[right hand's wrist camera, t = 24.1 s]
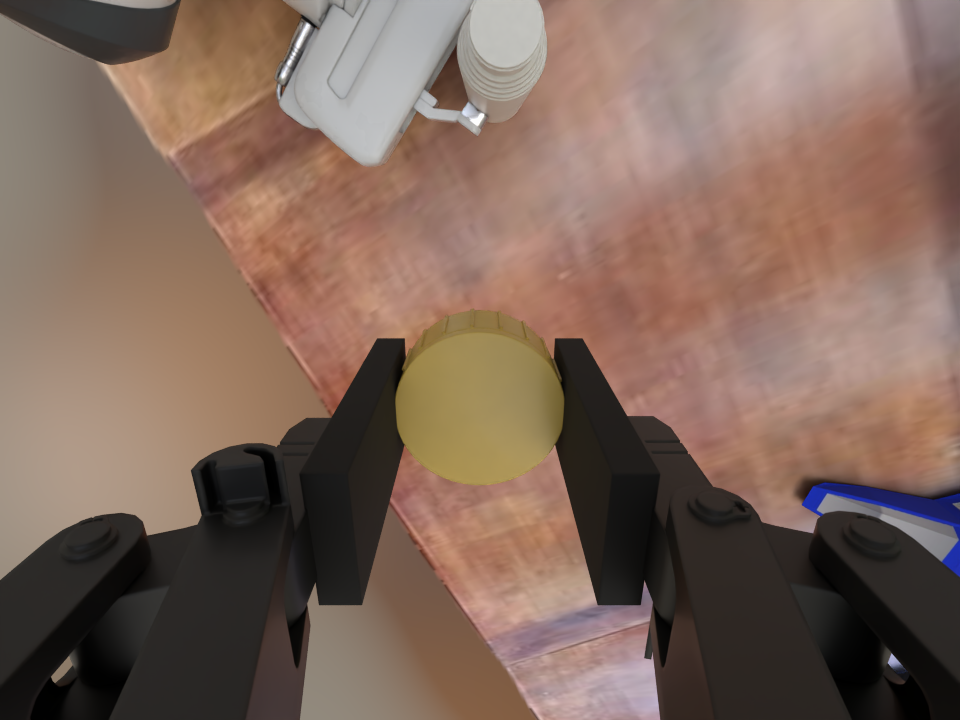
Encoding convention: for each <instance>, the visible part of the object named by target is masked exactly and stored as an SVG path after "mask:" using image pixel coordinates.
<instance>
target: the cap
mask: <svg viewBox="0 0 960 720" xmlns="http://www.w3.org/2000/svg"><path fill="white" fill-rule="evenodd" d="M402 370H403V373H402V376H401V379H400V381H399V384H398V387H397V391H396V395H395V403H396V418H397V429H398V432H399V435H400V437H401V439H402V441H403V443H404V445H405V446H406V448H407V449H408V451H409V452H410V453H411V454H412V456H413V457H414V458H415V459H416V460H417V461H418V462H419V463H420V464H422V465H423V466H424V467H425V468H427V469H428V470H430V471H431V472H433V473H435V474H437V475H438V476H440V477H443V478H445V479H448V480H451V481H454V482H458V483H463V484H469V485H491V484H496V483H502V482H505V481H509V480H512V479H514V478H517V477H519V476H521V475H523V474H525V473H526V472H528V471H530V470H531V469H533V468H534V467H535V466H537V465H538V464H539V463H540V462H541V461H542V460H543V459H544V458H545V457H546V456H547V455H548V454H549V453H550V451H551V450H552V449H553V447H554V445H555V444H556V442H557V440H558V438H559V436H560V433H561V431H562V427H563V413H564V392H563V389H562V386H561V383H560V382H562V378H561V376H560V373H559V370H558V368H557V365H556V362H555V360H554V359H552V358H551V355H550V353H549V351H548V349H547V347H546V344H545V341H544V339H543V338H540V337H539V336H538V335H537V334H536V333H535V332H534V331H533V330H532V329H531V328H529V327H528V326H527V325H526V323H525V322H524V321H522V322H521V321H519V320H517V319H515V318H513V317H511V316H508V315H505V314H502V313H501V311H498V312H493V311H483V310H476V311H474V309H471V311H466V312H461V313H457V314H454V315H451V316H448V315H446V316H445V318H444V319H442V320H440V321H439V322H437V323H436V324H434V325H433V326H431V327H430V328H429V329H428V330H427V329H425V330H424V331H423V334H422V336H421V337H420V338H419V339H418V340H417V342H416V343H415V345H414V347H413V348H412V349H411V348H410V349H409V351H408V354H407V357H406V359H405V362H404V365H403V367H402Z"/></svg>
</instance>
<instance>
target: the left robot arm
mask: <svg viewBox="0 0 960 720" xmlns="http://www.w3.org/2000/svg"><path fill="white" fill-rule="evenodd" d="M180 1H181V0H0V14H1V15H3V16H4V17H5V18H7V19H9V20H10V21H12V22H13V23H15V24H16V25H18V26H20V27H21V28H23V29H25V30H26V31H28V32H30V33H32V34H33V35H35V36H37V37H39V38H41V39H43V40H44V41H46V42H48V43H51V44H53V45H55V46H57V47H59V48H61V49H63V50H66V51H68V52H71V53H73V54H76V55H79V56H82V57H85V58H89V59H92V60H96V61H99V62H102V63H105V64H109V65H115V64H122V63H128V62H133V61H136V60H140V59H143V58H146V57H149V56H152V55H154V54H157V53H159V52H162V51H164V50H166V49H167V48H168V46H169V42H170V39H171V35H172V31H173V27H174V23H175V20H176V16H177V12H178V9H179V5H180ZM282 1H284V2H285V3H286V4H288V5H289V6H290V7H292V8H293V9H294V10H296V11H297V12H298V13H300V14H301V16H302V17H301V19H300V21H299V23H298V25H297V28H296V30H295V32H294V34H293V36H292V38H291V41H290V44H289V48H288V49H287V52H286V54H285V55H286V56H284V58H283V60H282V61H281V62H280V63H279V65H278V67H277V69H276V72H275V75H274V80H275V81H276V82H277V85H276V97H277V101H278V103H279V106H280V107H281V109H282V110H283V112H284V113H285V114H286V115H288V116H289V117H290V118H292V119H293V120H295V121H296V122H297V123H299V124H300V125H302V126H303V127H305V128H307V129H310V130H320V131H321V132H323V133H324V134H325V135H326V136H327V137H328V138H329V139H330V140H331V141H332V142H333V143H334V144H336V145H337V146H338V147H339V148H340V149H341V150H343V151H344V152H345V153H346V154H348V155H349V156H350V157H351V158H353V159H354V160H355V161H357V162H358V163H359V164H361V165H363V166H366V167H376V166H381V165H384V164H386V163H387V161H388V160H389V158H390V156H391V155H392V153H393V151H394V150H395V148H396V146H397V144H398V143H399V141H400V139H401V138H402V136H403V134H404V133H405V131H406V129H407V128H408V126H409V124H410V123H411V121H412V119H413V117H414V116H415V114H416V112H417V111H418V112H420V113H421V114H422V115H424V116H425V117H426V118H428V119H429V120H430V121H440V122H450V123H457V122H459V123H460V124H461V125H463V126H464V127H465V128H467V129H468V130H469V131H470V132H472V133H473V134H474V135H476V136H477V137H478V135H479V134H480V132H481V131H482V129H483V127H484V126H485V124H486V122H487V121H488V119H489V117H488V116H487V115H485V114H484V113H483V112H481V111H477V109H476V107H475V106H474V105H473V104H471V103H470V102H469V101H468V103H467V104H466V106H465V107H464V109H463V110H462V112H461V111H455V110H446V109H437V108H438V106H439V102H438V100H437V99H436V98H434V97H433V96H432V95H431V94H429V93H428V92H429V90H430V89H431V87H432V85H433V84H434V82H435V80H436V79H437V77H438V75H439V74H440V72H441V70H442V68H443V67H444V65H445V63H446V62H447V60H448V58H449V57H450V55H451V53H452V52H453V50H454V48H455V47H456V45H457V42H458V37H459V33H460V30H461V27H462V25H463V22H464V20H465V19H466V17H467V15H468V14H469V13H470V7H471V5H472V3H473V1H474V0H282ZM315 27H318V28H319V30H318V29H317V28H315ZM283 86H284V87H286V88H285V90H284V92H283V94H282V87H283Z"/></svg>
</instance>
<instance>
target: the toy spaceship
mask: <svg viewBox="0 0 960 720" xmlns="http://www.w3.org/2000/svg"><path fill="white" fill-rule="evenodd" d="M802 506H804V507H806V508H808V509H809V510H811V511H813V512H814V513H816V514H818V515H819V516H822V515H823V514H824V513H828V512H834V511H848V512H858V513H862V514H866V515H870V516H873V517H876V518H879V519H881V520H882V521H885V522H887V523H889V524H891V525H893V526H896V527H898V528H899V529H900V530H902V531H903V532H905V533H906V534H908V535H909V536H911V537H912V538H914V539H915V540H916V541H917V542H919V543H920V544H921V545H922V546H923V547H925V548H926V549H927V550H928V551H929V552H931V553H932V554H933V555H934V556H935V557H937V558H938V559H939V560H940V561H941V562H942V563H944V564H945V565H946V566H947V567H948V568H950V569H951V570H952V571H953V572H954V573H956V574H957V575H958V576H959V577H960V493H959V494H956V495H952V496H948V497H944V498H940V499H936V500H932V499H927V498H922V497H917V496H912V495H907V494H902V493H896V492H891V491H886V490H881V489H876V488H871V487H866V486H856V485H846V484H835V483H822V484H819V485H816V486H813V488H812V489H811V491H810V492H809V494H808V496H807V497H806V499H805V500H804V502H803V503H802Z"/></svg>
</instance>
